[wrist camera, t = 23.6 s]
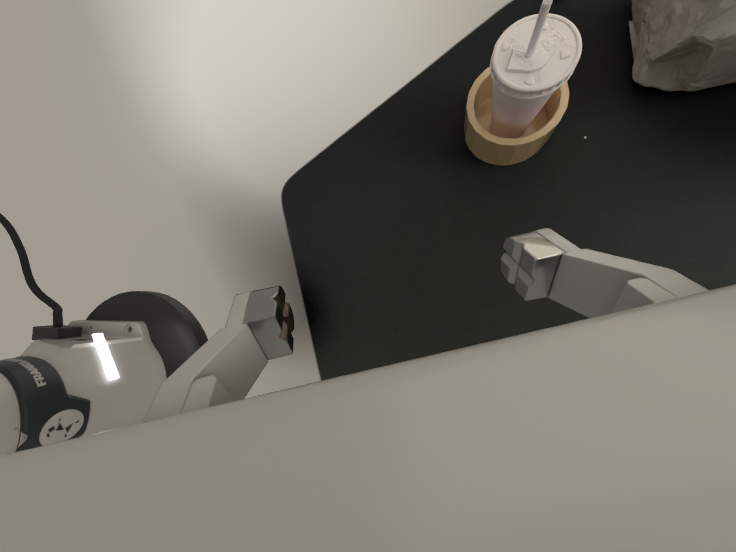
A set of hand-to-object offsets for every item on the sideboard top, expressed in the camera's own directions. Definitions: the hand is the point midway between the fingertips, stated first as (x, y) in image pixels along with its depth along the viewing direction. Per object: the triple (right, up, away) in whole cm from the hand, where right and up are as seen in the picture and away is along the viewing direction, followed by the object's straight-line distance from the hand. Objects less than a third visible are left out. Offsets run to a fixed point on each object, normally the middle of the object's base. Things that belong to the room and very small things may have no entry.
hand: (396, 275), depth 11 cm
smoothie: (+14, +17, +21) cm, 31 cm away
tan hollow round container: (+14, +17, +22) cm, 31 cm away
